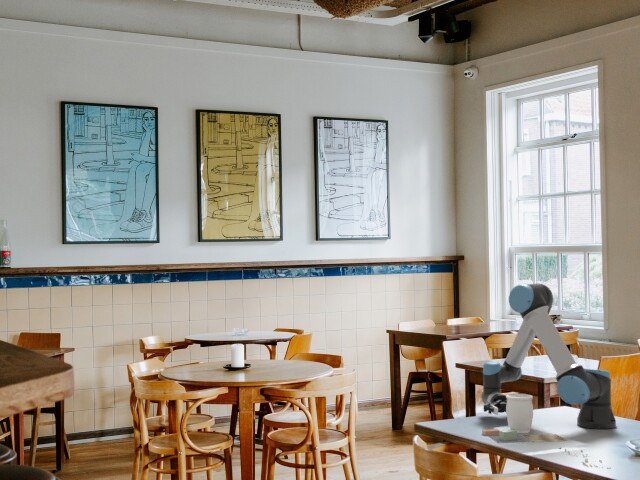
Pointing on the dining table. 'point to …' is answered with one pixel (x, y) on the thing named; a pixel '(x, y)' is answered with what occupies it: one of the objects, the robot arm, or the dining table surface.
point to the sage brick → (508, 434)
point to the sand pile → (544, 438)
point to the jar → (519, 412)
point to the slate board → (519, 439)
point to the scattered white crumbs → (587, 460)
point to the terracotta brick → (490, 432)
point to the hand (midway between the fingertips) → (513, 411)
